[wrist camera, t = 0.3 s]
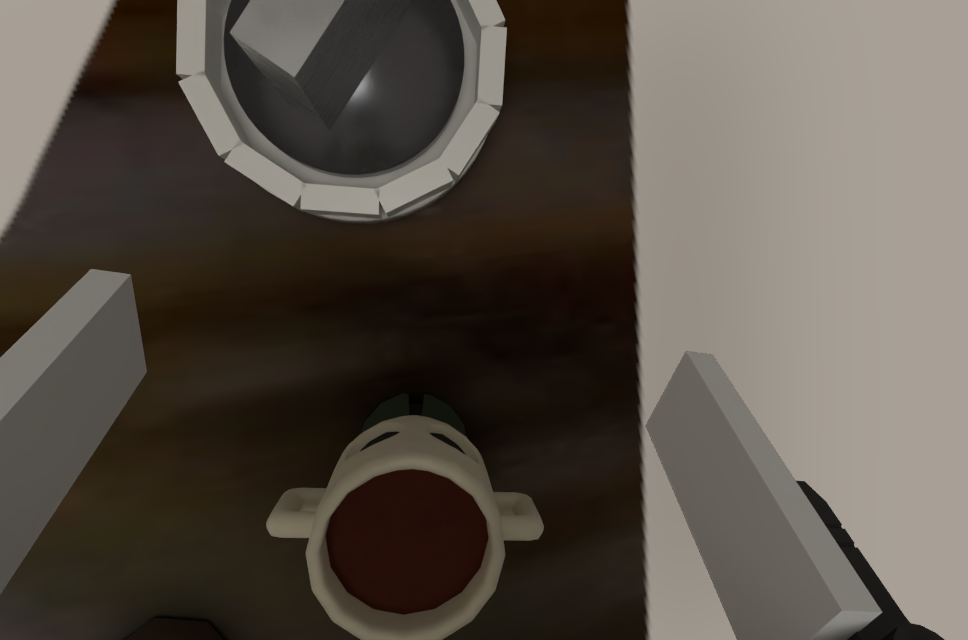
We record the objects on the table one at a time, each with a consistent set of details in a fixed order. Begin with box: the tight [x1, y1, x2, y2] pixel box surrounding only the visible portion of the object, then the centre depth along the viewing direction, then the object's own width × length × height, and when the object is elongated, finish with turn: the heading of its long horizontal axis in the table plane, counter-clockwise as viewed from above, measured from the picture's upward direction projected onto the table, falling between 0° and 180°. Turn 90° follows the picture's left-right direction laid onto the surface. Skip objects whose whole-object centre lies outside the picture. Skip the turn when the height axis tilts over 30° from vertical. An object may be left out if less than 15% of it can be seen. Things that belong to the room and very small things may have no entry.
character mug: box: [266, 393, 544, 640], centre depth 26 cm, size 11×7×13 cm, turn 86°
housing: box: [176, 0, 507, 224], centre depth 27 cm, size 15×15×5 cm
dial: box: [224, 0, 464, 178], centre depth 23 cm, size 11×11×8 cm
